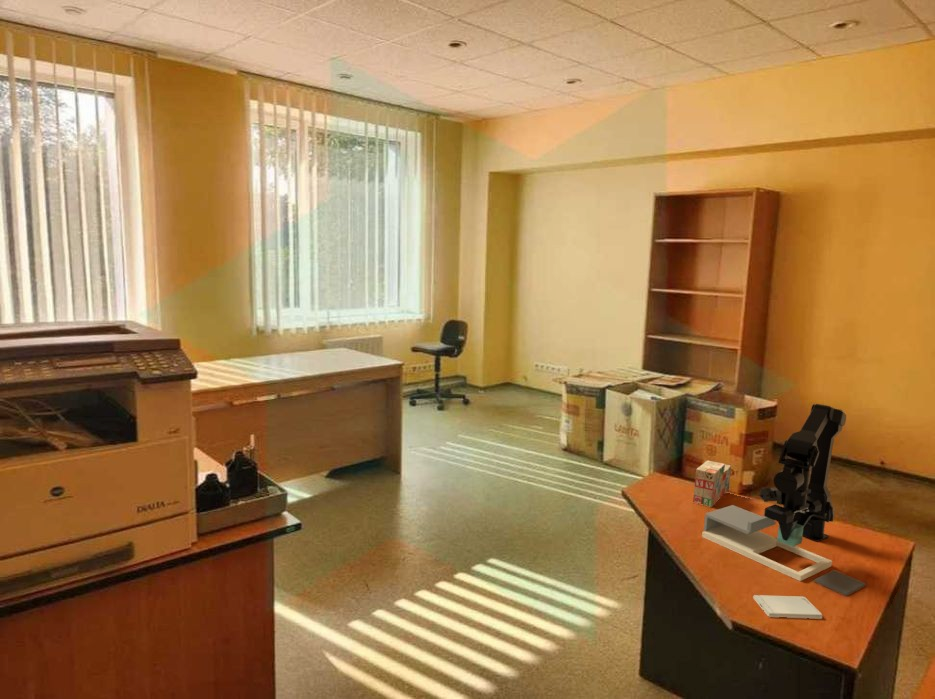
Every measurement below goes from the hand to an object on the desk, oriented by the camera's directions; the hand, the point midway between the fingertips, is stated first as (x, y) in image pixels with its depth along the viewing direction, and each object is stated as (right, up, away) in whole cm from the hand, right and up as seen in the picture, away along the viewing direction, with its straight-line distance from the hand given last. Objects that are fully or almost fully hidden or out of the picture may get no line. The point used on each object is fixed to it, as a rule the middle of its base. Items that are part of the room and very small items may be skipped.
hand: (789, 538), depth 173 cm
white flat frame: (-4, -6, +7) cm, 10 cm away
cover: (-8, -3, +13) cm, 16 cm away
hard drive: (-12, -11, -23) cm, 28 cm away
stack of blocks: (-3, 0, +47) cm, 47 cm away
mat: (+8, -9, -10) cm, 16 cm away
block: (0, -1, 0) cm, 1 cm away
